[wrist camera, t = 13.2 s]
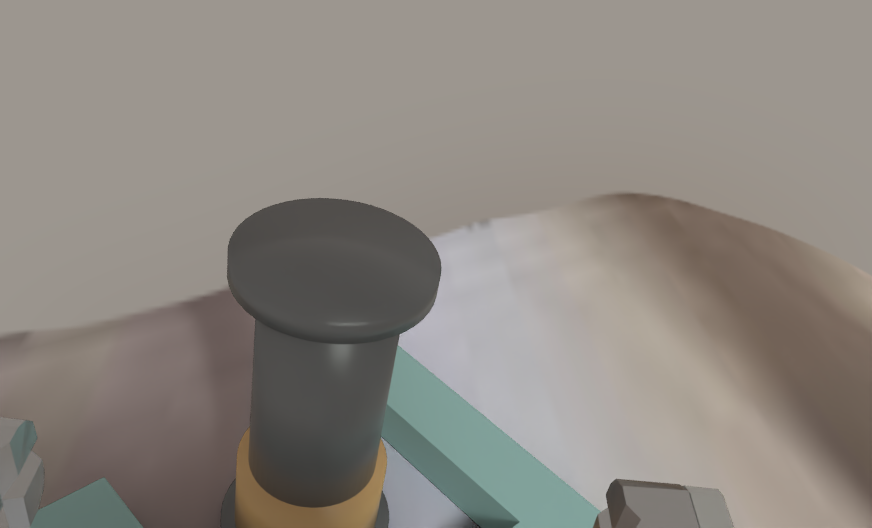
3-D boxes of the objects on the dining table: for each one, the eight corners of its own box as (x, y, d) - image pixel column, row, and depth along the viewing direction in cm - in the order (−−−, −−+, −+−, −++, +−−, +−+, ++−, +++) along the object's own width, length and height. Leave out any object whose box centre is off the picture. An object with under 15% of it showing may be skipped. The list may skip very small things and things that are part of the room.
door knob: (318, 438, 36) (349, 180, 29) (419, 537, 33) (484, 274, 25) (187, 512, 32) (184, 233, 24) (288, 633, 29) (319, 353, 21)
